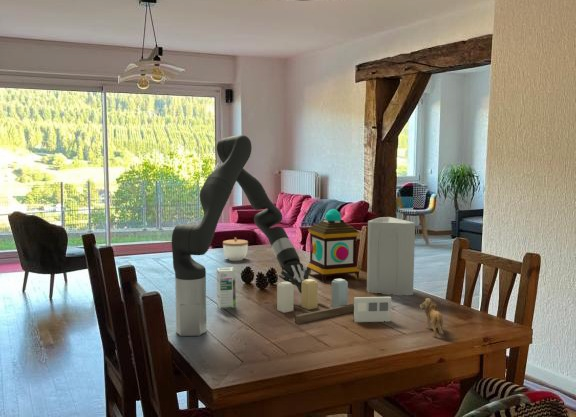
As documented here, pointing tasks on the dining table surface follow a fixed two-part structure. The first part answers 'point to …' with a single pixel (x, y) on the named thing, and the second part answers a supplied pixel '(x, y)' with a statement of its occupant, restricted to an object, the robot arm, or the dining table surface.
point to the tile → (372, 309)
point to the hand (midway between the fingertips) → (305, 292)
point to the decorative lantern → (333, 247)
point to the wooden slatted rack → (322, 312)
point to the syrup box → (226, 288)
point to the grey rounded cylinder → (339, 292)
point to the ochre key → (309, 294)
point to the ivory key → (285, 296)
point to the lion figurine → (433, 316)
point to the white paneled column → (390, 256)
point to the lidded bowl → (235, 249)
